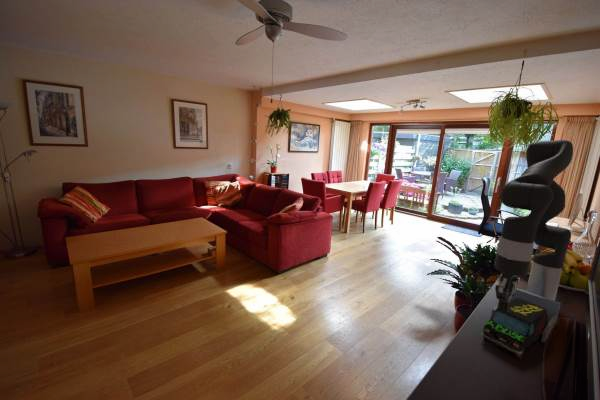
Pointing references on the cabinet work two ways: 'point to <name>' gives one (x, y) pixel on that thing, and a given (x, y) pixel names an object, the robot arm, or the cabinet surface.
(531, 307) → the toy van
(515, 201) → the robot arm
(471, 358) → the cabinet surface
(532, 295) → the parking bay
